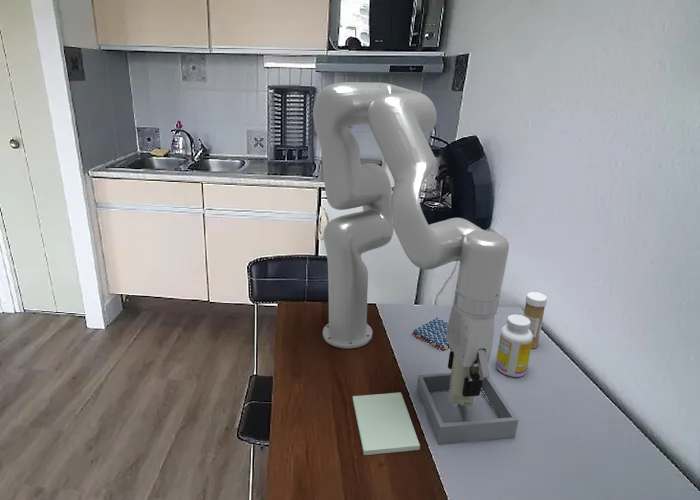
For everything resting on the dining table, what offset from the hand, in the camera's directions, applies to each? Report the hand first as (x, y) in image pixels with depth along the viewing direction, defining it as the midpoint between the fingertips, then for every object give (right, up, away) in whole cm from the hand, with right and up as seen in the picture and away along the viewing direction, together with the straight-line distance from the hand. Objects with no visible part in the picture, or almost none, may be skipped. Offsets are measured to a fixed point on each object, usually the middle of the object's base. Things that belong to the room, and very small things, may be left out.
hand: (462, 380), depth 84 cm
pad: (-15, -8, -1) cm, 17 cm away
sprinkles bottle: (+22, +2, +25) cm, 33 cm away
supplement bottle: (+15, -2, +15) cm, 21 cm away
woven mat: (+1, +3, +28) cm, 28 cm away
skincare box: (0, -3, +1) cm, 4 cm away
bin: (0, -7, +2) cm, 7 cm away
